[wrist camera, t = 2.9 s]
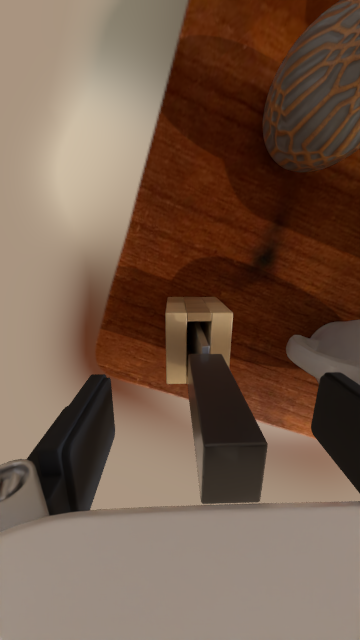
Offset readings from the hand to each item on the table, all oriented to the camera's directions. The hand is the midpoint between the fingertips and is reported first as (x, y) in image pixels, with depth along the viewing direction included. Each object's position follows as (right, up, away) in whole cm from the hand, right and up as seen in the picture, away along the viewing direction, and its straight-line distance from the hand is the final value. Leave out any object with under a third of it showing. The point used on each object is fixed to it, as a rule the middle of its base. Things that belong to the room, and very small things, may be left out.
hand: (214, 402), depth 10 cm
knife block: (0, +3, +11) cm, 11 cm away
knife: (0, +3, +11) cm, 11 cm away
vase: (+7, +18, +7) cm, 21 cm away
